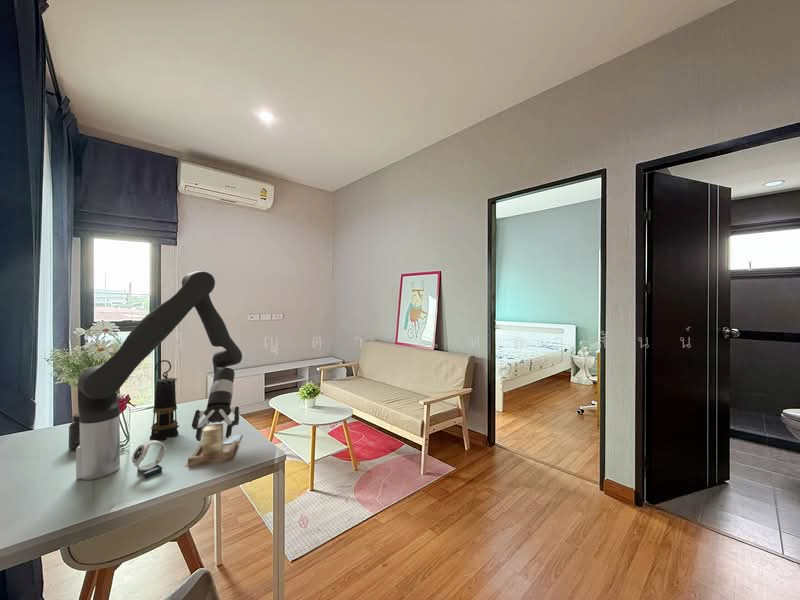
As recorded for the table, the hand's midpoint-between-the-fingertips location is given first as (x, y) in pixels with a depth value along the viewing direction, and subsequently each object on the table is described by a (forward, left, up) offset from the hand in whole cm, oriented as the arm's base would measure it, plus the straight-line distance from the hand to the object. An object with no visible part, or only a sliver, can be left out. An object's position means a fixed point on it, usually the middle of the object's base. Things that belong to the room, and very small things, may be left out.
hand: (213, 438), depth 109 cm
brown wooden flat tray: (0, +5, -8) cm, 9 cm away
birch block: (0, 0, -6) cm, 6 cm away
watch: (-16, -6, -8) cm, 19 cm away
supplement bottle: (-48, +24, -8) cm, 54 cm away
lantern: (-23, +26, -8) cm, 36 cm away
